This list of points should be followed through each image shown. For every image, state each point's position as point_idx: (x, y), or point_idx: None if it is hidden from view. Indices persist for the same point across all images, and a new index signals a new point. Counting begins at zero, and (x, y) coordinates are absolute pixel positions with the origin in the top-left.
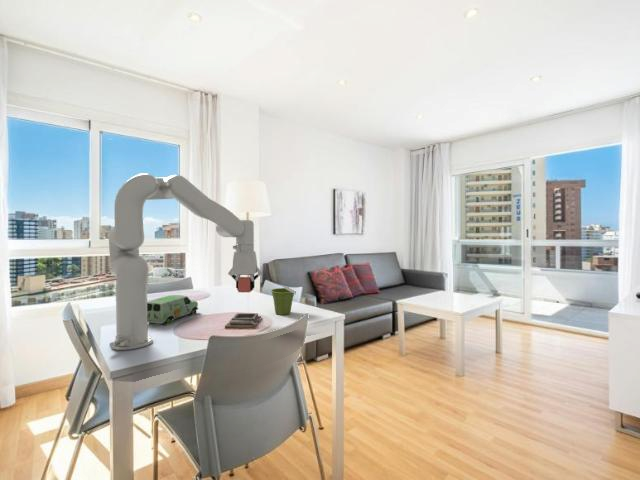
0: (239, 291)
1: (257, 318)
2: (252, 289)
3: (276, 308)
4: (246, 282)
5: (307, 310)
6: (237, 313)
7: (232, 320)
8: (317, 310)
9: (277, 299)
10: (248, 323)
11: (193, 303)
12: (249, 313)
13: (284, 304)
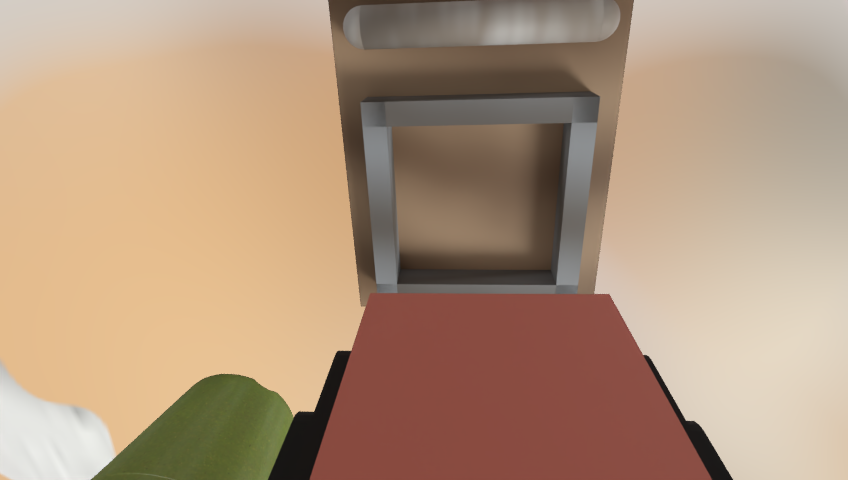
0: (588, 302)
1: (371, 231)
2: None
3: (255, 417)
4: (423, 464)
5: None
6: None
7: (577, 22)
8: (36, 469)
9: (197, 471)
10: (394, 5)
11: None
12: None
13: (158, 429)
